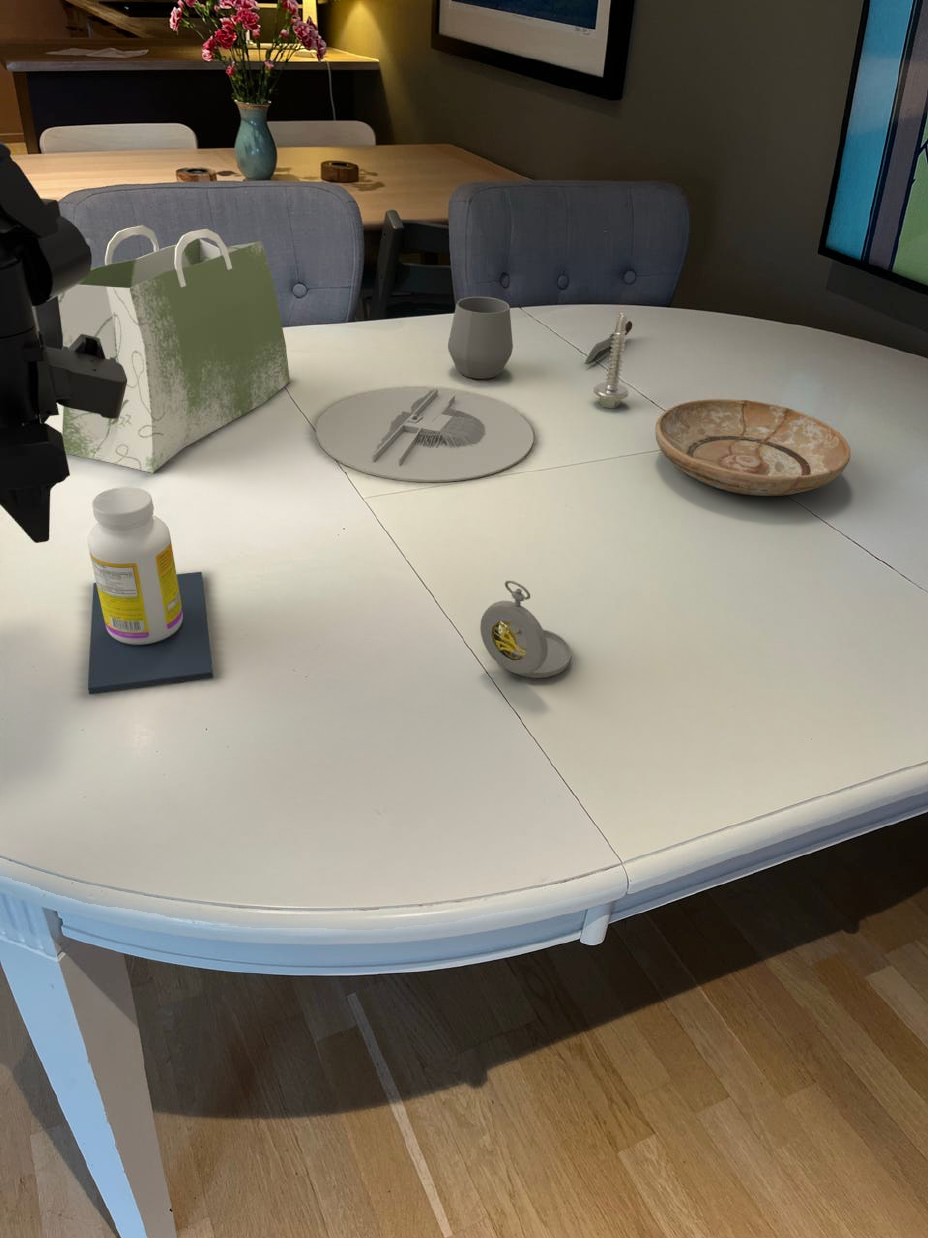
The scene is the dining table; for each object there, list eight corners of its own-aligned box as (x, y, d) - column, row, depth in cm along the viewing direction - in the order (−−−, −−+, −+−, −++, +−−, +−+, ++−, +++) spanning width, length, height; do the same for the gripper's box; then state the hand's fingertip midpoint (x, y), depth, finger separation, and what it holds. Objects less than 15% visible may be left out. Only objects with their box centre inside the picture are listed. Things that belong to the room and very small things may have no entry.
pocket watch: (570, 640, 88) (583, 547, 82) (569, 698, 81) (583, 602, 76) (482, 631, 89) (489, 538, 83) (474, 689, 82) (480, 592, 76)
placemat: (213, 677, 81) (212, 671, 81) (88, 693, 79) (87, 688, 78) (202, 576, 94) (201, 571, 93) (94, 587, 91) (93, 582, 91)
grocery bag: (210, 364, 138) (191, 193, 125) (294, 382, 135) (284, 207, 121) (57, 451, 114) (13, 250, 100) (155, 475, 110) (123, 269, 97)
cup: (464, 356, 146) (468, 290, 140) (520, 369, 143) (526, 302, 137) (436, 376, 139) (438, 307, 133) (494, 389, 136) (499, 319, 130)
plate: (370, 376, 138) (370, 368, 137) (557, 411, 131) (558, 402, 130) (276, 454, 116) (275, 445, 115) (494, 500, 109) (495, 491, 108)
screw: (625, 413, 132) (590, 409, 132) (627, 399, 135) (593, 395, 136) (640, 319, 124) (603, 315, 125) (641, 308, 128) (605, 304, 128)
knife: (587, 371, 144) (590, 352, 142) (578, 369, 144) (581, 349, 142) (633, 338, 157) (636, 320, 155) (624, 336, 157) (627, 318, 156)
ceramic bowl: (862, 463, 122) (873, 427, 119) (806, 538, 106) (818, 498, 103) (692, 415, 132) (699, 381, 129) (618, 477, 116) (624, 439, 113)
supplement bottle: (168, 597, 90) (149, 474, 82) (195, 633, 85) (177, 507, 78) (96, 618, 86) (69, 491, 79) (119, 657, 82) (93, 527, 74)
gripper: (125, 360, 65) (156, 554, 74) (96, 281, 79) (126, 453, 88) (-55, 376, 62) (1, 579, 71) (-52, 290, 75) (-5, 469, 84)
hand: (38, 513), depth 79 cm, fingers open, 9 cm apart
